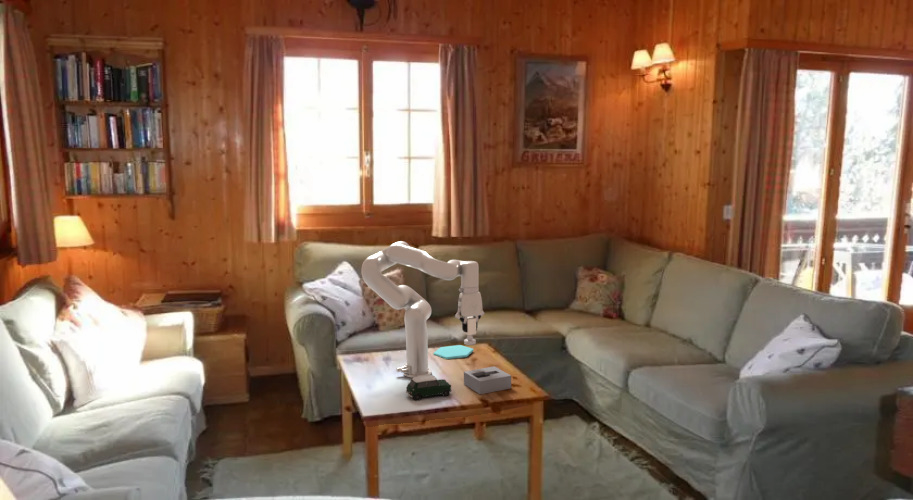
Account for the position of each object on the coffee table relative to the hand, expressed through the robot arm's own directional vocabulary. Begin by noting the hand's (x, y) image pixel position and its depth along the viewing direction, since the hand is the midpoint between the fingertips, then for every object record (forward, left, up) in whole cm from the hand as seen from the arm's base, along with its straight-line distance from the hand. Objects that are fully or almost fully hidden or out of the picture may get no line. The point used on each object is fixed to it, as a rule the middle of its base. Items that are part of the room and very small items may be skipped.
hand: (469, 330), depth 294 cm
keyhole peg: (0, 0, -6) cm, 6 cm away
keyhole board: (+1, -14, -21) cm, 25 cm away
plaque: (+9, +35, -21) cm, 42 cm away
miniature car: (-25, -12, -21) cm, 35 cm away
